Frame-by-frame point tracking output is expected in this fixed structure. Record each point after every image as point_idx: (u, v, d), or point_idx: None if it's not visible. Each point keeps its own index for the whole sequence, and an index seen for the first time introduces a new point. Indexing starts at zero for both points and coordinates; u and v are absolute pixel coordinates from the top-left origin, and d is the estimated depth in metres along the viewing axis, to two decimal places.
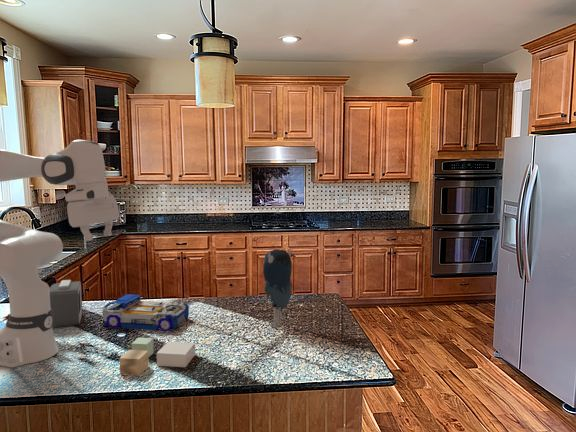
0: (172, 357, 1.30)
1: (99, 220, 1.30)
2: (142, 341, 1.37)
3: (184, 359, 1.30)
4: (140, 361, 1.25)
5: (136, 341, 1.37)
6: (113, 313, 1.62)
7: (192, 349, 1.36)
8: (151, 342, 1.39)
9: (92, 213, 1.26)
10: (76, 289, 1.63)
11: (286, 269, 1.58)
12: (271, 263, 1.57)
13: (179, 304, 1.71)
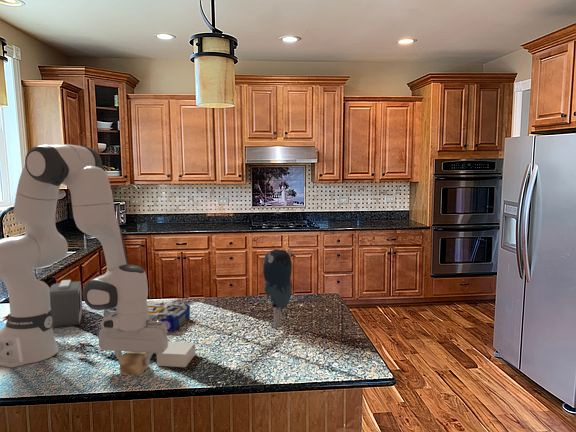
0: (172, 357, 1.30)
1: (127, 349, 1.26)
2: None
3: (184, 359, 1.30)
4: (140, 360, 1.25)
5: None
6: (114, 313, 1.62)
7: (192, 349, 1.36)
8: None
9: (117, 340, 1.26)
10: (76, 289, 1.63)
11: (286, 269, 1.58)
12: (271, 263, 1.57)
13: (180, 304, 1.70)
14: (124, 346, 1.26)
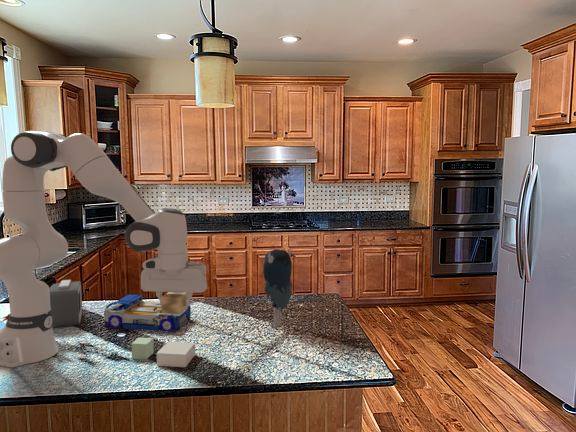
0: (172, 357, 1.30)
1: (168, 289, 1.31)
2: (142, 341, 1.37)
3: (184, 359, 1.30)
4: (181, 300, 1.30)
5: (136, 341, 1.37)
6: (115, 313, 1.62)
7: (192, 349, 1.36)
8: (151, 342, 1.39)
9: (158, 281, 1.31)
10: (76, 289, 1.63)
11: (286, 269, 1.58)
12: (271, 263, 1.57)
13: None
14: (165, 286, 1.31)
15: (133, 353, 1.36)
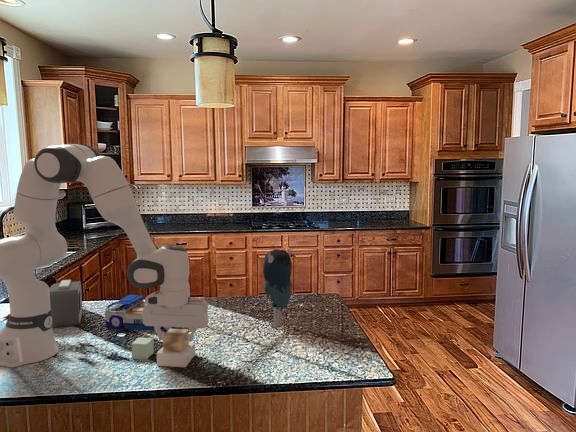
0: (172, 357, 1.30)
1: (170, 325, 1.32)
2: (142, 341, 1.37)
3: (184, 359, 1.30)
4: (182, 338, 1.32)
5: (136, 341, 1.37)
6: (116, 314, 1.62)
7: (192, 349, 1.36)
8: (151, 342, 1.39)
9: (160, 316, 1.32)
10: (76, 289, 1.63)
11: (286, 269, 1.58)
12: (271, 263, 1.57)
13: None
14: (167, 322, 1.32)
15: (133, 353, 1.36)
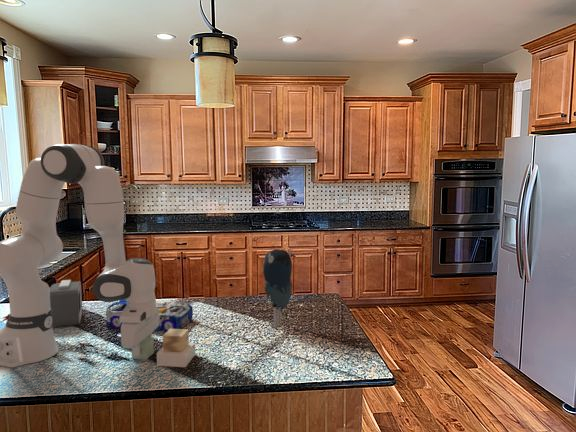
0: (172, 357, 1.30)
1: (146, 335, 1.36)
2: (142, 341, 1.37)
3: (184, 359, 1.30)
4: (182, 338, 1.32)
5: None
6: (117, 314, 1.61)
7: (192, 349, 1.36)
8: (151, 342, 1.39)
9: (141, 331, 1.33)
10: (76, 289, 1.63)
11: (286, 269, 1.58)
12: (271, 263, 1.57)
13: (183, 305, 1.70)
14: (144, 334, 1.35)
15: (133, 353, 1.36)
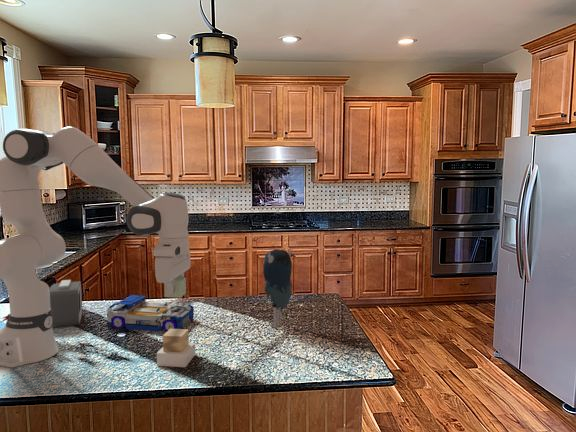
0: (172, 357, 1.30)
1: (179, 273, 1.31)
2: (175, 279, 1.32)
3: (184, 359, 1.30)
4: (182, 338, 1.32)
5: None
6: (118, 314, 1.61)
7: (192, 349, 1.36)
8: (184, 281, 1.33)
9: (175, 267, 1.28)
10: (76, 289, 1.63)
11: (286, 269, 1.58)
12: (271, 263, 1.57)
13: (184, 305, 1.69)
14: (178, 271, 1.30)
15: (166, 291, 1.31)
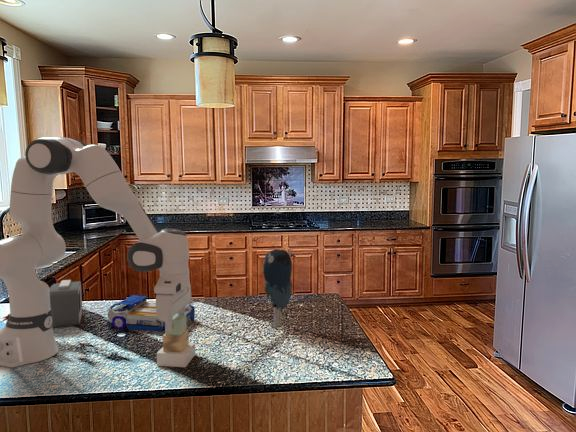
0: (172, 357, 1.30)
1: (179, 308, 1.32)
2: (175, 317, 1.33)
3: (184, 359, 1.30)
4: (182, 338, 1.32)
5: None
6: (118, 314, 1.61)
7: (192, 349, 1.36)
8: (184, 318, 1.35)
9: (175, 303, 1.29)
10: (76, 289, 1.63)
11: (286, 269, 1.58)
12: (271, 263, 1.57)
13: None
14: (178, 307, 1.31)
15: None
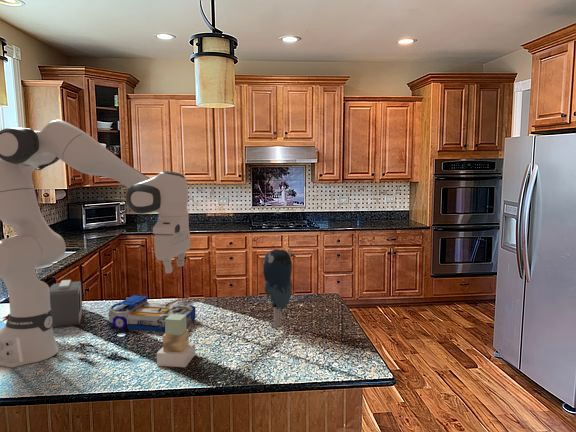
0: (172, 357, 1.30)
1: (179, 252, 1.30)
2: (175, 317, 1.33)
3: (184, 359, 1.30)
4: (182, 338, 1.32)
5: (169, 317, 1.33)
6: (119, 314, 1.61)
7: (192, 349, 1.36)
8: (184, 318, 1.35)
9: (174, 246, 1.27)
10: (76, 289, 1.63)
11: (286, 269, 1.58)
12: (271, 263, 1.57)
13: (186, 306, 1.69)
14: (177, 250, 1.29)
15: (166, 329, 1.32)
